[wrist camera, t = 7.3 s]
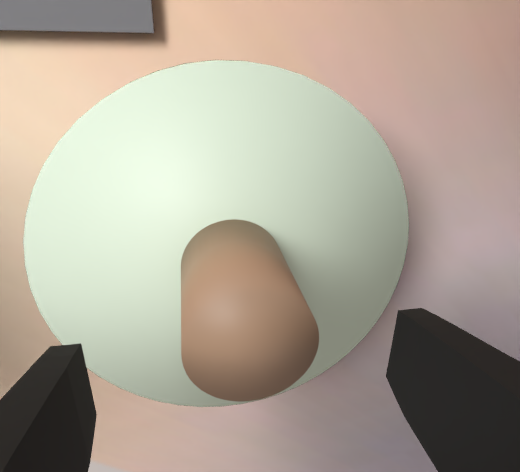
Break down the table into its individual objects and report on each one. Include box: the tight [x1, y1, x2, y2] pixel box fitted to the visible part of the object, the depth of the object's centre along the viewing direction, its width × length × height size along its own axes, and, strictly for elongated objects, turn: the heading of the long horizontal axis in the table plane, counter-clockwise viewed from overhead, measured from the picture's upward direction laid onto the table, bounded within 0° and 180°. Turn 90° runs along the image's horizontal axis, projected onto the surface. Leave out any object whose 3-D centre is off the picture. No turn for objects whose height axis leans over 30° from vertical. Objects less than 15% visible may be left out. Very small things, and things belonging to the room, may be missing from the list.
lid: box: [23, 60, 409, 407], centre depth 11 cm, size 12×12×5 cm
